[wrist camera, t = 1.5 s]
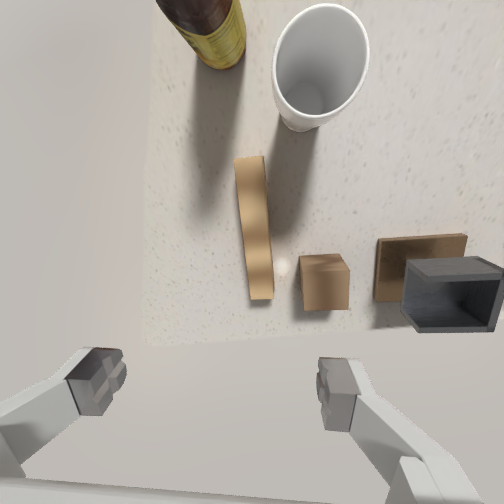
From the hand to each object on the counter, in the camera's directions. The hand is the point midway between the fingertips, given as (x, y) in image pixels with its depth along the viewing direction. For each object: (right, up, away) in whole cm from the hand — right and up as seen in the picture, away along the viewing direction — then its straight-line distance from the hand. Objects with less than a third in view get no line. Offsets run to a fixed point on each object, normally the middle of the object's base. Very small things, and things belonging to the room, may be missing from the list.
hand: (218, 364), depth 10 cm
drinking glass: (+8, +23, +21) cm, 32 cm away
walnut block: (+12, +1, +28) cm, 31 cm away
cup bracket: (+26, +2, +26) cm, 37 cm away
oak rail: (+2, +8, +27) cm, 28 cm away
